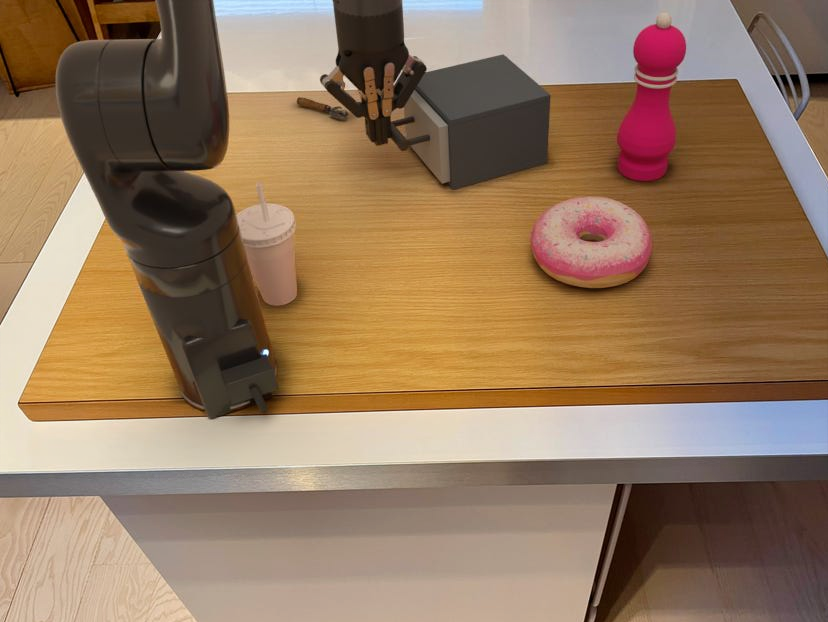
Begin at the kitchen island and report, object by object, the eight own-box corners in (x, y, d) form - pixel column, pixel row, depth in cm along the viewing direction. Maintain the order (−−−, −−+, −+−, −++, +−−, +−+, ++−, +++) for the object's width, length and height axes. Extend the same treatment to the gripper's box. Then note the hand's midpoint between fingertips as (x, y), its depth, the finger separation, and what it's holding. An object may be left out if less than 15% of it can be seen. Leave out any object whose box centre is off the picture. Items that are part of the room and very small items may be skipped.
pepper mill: (668, 155, 108) (695, 0, 94) (672, 185, 103) (700, 27, 89) (613, 152, 109) (631, -1, 94) (614, 182, 104) (633, 25, 89)
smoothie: (297, 317, 86) (272, 206, 76) (240, 309, 87) (208, 198, 77) (317, 279, 91) (296, 169, 81) (263, 272, 92) (235, 162, 82)
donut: (551, 308, 87) (554, 271, 83) (514, 235, 96) (515, 199, 92) (668, 285, 89) (676, 248, 86) (621, 216, 98) (626, 180, 95)
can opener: (296, 105, 118) (295, 98, 117) (307, 99, 120) (306, 91, 119) (344, 123, 115) (343, 115, 114) (355, 116, 116) (354, 108, 115)
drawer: (410, 192, 101) (405, 135, 95) (377, 149, 108) (370, 94, 103) (529, 159, 106) (531, 103, 100) (490, 120, 113) (489, 65, 108)
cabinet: (452, 190, 103) (449, 120, 96) (413, 143, 111) (408, 75, 104) (547, 163, 107) (550, 94, 100) (502, 120, 115) (503, 53, 108)
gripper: (320, 22, 85) (339, 169, 97) (437, 1, 89) (441, 144, 101) (298, -4, 89) (318, 139, 102) (409, -23, 94) (416, 117, 106)
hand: (379, 141), depth 101 cm, fingers closed
